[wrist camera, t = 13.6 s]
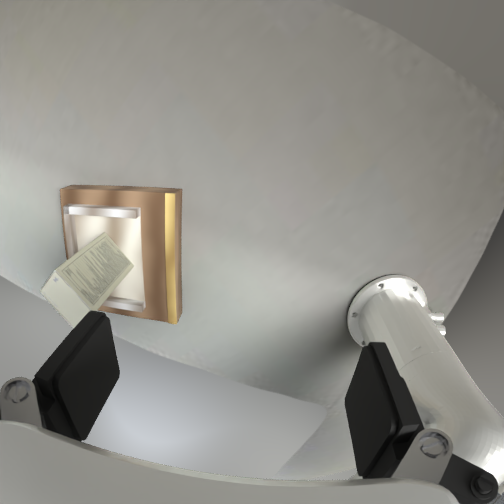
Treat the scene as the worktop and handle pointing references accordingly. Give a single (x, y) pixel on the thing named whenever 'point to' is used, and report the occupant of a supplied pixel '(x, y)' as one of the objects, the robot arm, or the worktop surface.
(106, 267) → the skincare box
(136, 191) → the dock
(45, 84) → the worktop surface
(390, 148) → the worktop surface
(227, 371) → the worktop surface
